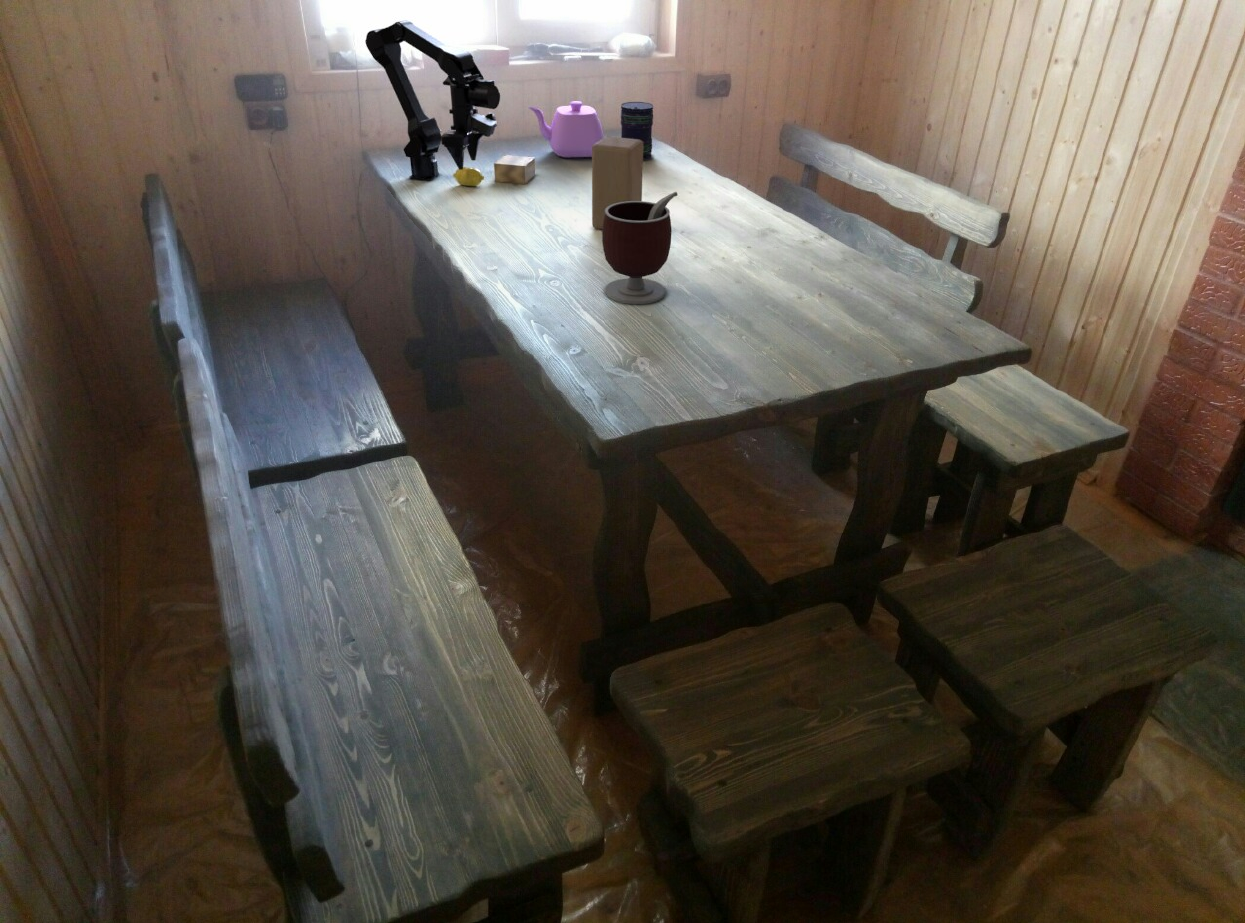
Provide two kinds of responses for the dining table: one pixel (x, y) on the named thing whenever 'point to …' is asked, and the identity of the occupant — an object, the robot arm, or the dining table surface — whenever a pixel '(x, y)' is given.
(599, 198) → the block
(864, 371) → the dining table surface
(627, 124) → the storage jar
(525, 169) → the maple block
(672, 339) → the dining table surface
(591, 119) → the teapot
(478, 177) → the lemon
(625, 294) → the mate gourd
